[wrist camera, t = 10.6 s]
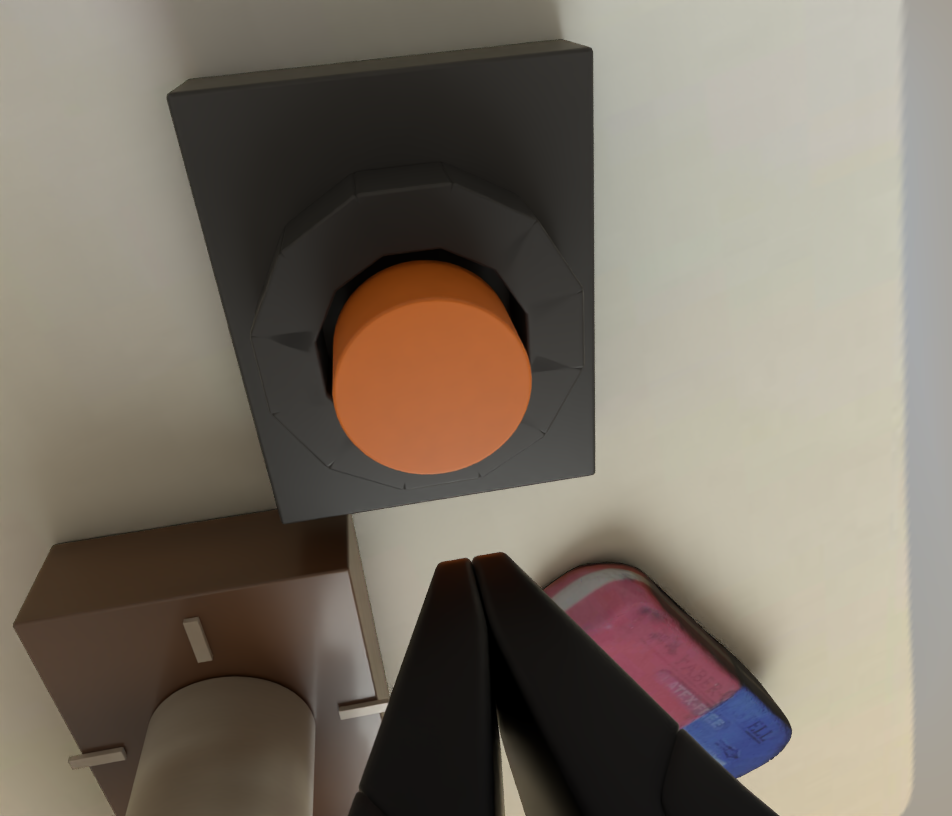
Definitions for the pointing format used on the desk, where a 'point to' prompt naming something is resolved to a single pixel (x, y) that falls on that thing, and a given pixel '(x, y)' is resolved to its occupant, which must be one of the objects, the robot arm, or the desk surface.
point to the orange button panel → (399, 242)
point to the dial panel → (209, 636)
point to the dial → (227, 752)
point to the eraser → (675, 663)
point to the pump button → (428, 368)
